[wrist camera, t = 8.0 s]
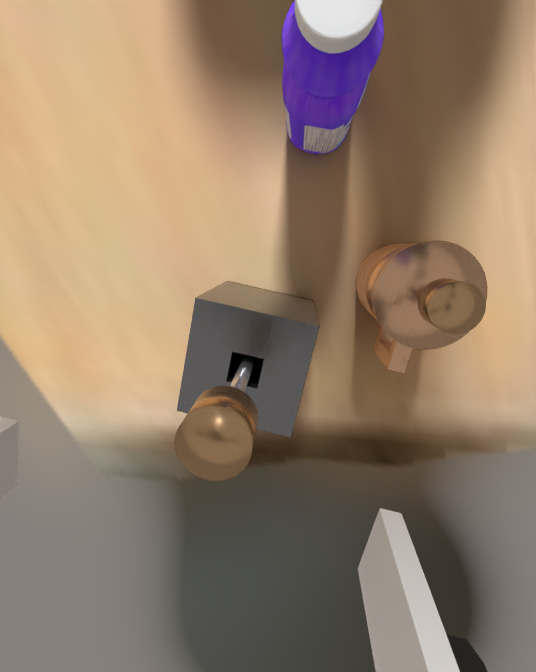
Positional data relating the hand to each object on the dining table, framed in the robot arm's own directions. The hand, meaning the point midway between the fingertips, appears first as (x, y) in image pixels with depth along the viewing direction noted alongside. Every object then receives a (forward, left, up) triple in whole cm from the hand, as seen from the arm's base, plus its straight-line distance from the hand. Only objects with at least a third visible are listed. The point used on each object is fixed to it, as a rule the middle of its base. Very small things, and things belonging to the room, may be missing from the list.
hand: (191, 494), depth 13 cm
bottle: (-21, +1, -26) cm, 33 cm away
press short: (-6, +12, -26) cm, 29 cm away
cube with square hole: (+2, 0, -26) cm, 26 cm away
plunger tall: (0, 0, -23) cm, 23 cm away
